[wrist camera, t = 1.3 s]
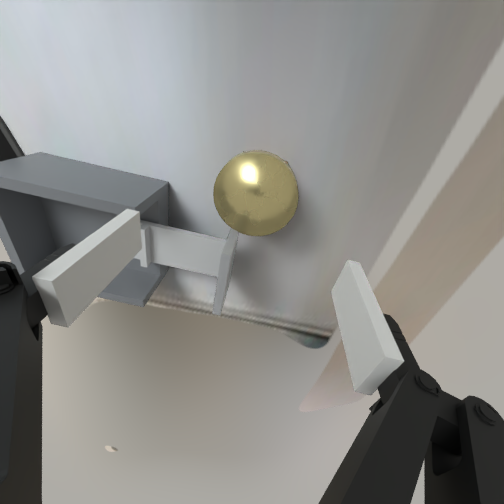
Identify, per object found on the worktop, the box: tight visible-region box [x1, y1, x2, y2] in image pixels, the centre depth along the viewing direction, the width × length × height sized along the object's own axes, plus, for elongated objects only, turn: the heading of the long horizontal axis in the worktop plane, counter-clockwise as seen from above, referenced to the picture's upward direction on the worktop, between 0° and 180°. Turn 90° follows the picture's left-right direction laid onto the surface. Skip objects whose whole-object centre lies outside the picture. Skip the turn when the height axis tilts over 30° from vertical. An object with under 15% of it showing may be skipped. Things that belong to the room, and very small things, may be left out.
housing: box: [0, 152, 169, 307], centre depth 30 cm, size 14×16×8 cm
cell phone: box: [0, 116, 25, 162], centre depth 32 cm, size 7×14×1 cm, turn 8°
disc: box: [213, 150, 298, 236], centre depth 23 cm, size 8×8×2 cm
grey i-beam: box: [134, 220, 239, 315], centre depth 29 cm, size 9×14×5 cm, turn 79°
